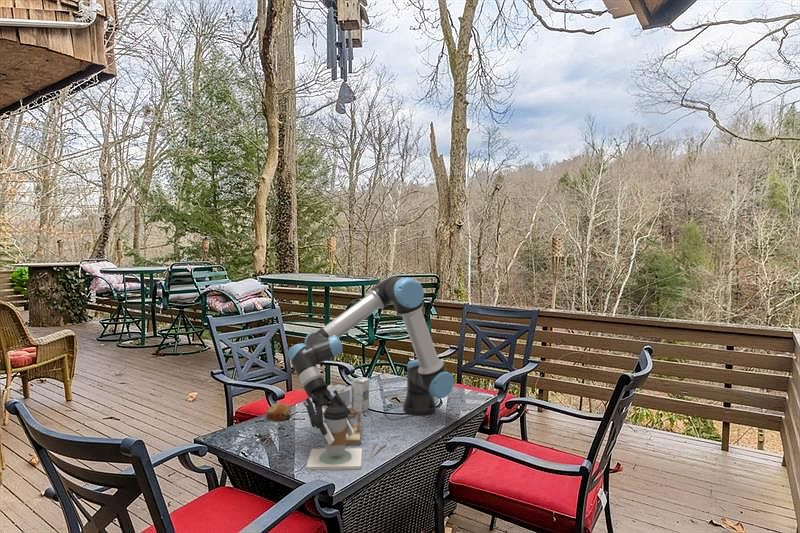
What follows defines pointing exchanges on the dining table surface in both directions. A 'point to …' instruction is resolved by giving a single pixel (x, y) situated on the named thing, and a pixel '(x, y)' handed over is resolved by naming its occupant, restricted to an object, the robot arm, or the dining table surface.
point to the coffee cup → (336, 429)
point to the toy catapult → (354, 428)
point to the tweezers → (377, 450)
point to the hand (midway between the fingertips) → (342, 438)
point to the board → (334, 460)
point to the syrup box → (360, 394)
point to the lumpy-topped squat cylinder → (340, 393)
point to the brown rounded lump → (278, 412)
